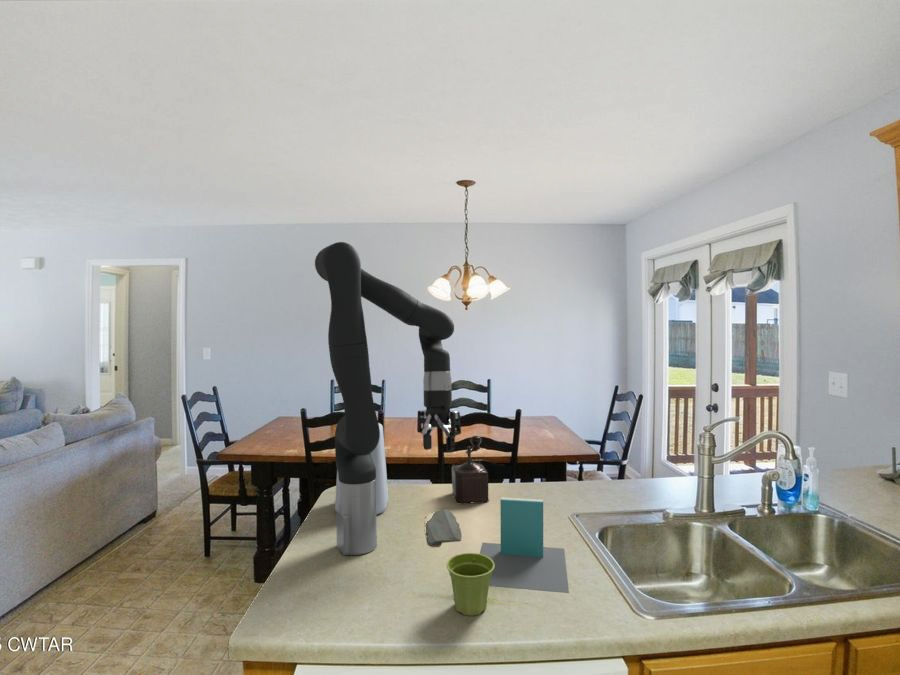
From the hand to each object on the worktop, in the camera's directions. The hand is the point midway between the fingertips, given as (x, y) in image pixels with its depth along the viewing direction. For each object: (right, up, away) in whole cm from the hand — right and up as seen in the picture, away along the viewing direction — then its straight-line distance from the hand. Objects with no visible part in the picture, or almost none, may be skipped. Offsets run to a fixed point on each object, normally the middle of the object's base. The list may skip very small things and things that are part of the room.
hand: (438, 450), depth 129 cm
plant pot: (+7, -23, -33) cm, 41 cm away
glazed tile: (+20, -22, -13) cm, 32 cm away
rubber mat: (+19, -23, -18) cm, 35 cm away
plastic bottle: (-24, -22, +20) cm, 38 cm away
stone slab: (+1, -23, +5) cm, 24 cm away
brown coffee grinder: (+9, -22, +31) cm, 39 cm away
